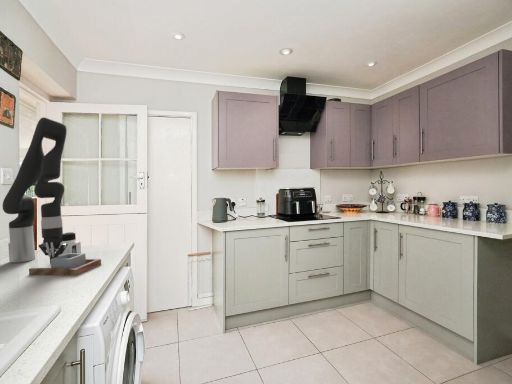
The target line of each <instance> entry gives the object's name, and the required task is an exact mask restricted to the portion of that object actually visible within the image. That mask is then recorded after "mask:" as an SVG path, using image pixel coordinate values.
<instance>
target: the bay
mask: <svg viewBox="0 0 512 384" xmlns="http://www.w3.org/2000/svg"><path fill="white" fill-rule="evenodd" d="M101 265H102V259H101V258H86V264H85V265H82V266H80V267H78V268H51V267H29V268H28V276H29V275H31V276H32V275H33V276H35V275H36V276H78V275H81V274H83V273H85V272H87V271H89V270H92V269H93V268H96V267H98V266H101Z"/></svg>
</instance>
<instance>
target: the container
mask: <svg viewBox="0 0 512 384" xmlns="http://www.w3.org/2000/svg"><path fill="white" fill-rule="evenodd" d="M76 238H77V237H76V232H72V231H71V232H70V231H69V232H63V235H62V239H63V242H64V243H65V244H66V243H67V244H68V246H67V247H66V249H65V250H64V252H63V253H62V254H60V255H58V256H61V255H64V254H67V253H82V248H81V247H82V246H81V241H76V240H77V239H76Z"/></svg>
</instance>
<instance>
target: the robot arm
mask: <svg viewBox="0 0 512 384" xmlns="http://www.w3.org/2000/svg"><path fill="white" fill-rule="evenodd" d="M67 129H68V128H67V126H66V125H65V124H64V123H62V122H59V121H57V120H54V119H51V118H48V117H44V116H43V117H40V119H39V120H38V122H37V123H36V126H35V130H34V133H33V135H32V138H31V141H30V145H29V147H28V149H27V152H26V154H25V156H24V158H23V159H22V162H21V165H20V167H19V170H18V172H17V174H16V176H15V178H14V181H13V183H12V185H11V187H10V188H9V190H8V191H7V193H6V195H5V196H4V199H3V201H2V210H3V212H4V213H6V214H7V215H17V216H16V217H15V218H14V219H13V220H11V221H9V222H8V232H9V233H8V234H9V242H8V257H9V263H10V262H11V263H14V264H15V263H17V264H19V263H25V262H29V261H33V260H35V259H36V252H35V251H36V250H35V249H36V248H35V236H34V235H35V234H34V221H35V209H36V208H35V201H34V199H33V197H32V196H31V195H28V194H26V193H27V191H28V190H29V189H30V188H31V187H32V186H34V190H33V193H34V195H35V196H36V197H37V198H40V199H50V198H52V199H53V198H54V199H53V201H51V202H47V203H43V204H41V206H40V214H41V216H40V217H41V220H40V226H41V238H42V239H43V240H42V242H41V243H40V244H38V248H39V249H40V250H41V252H42V253H43V254H44V255H45V256H48V258H49V263H50V265H51V259H52V258H55V257H58V255H60V254H62V253H63V252H64V250H65V249H66V247H67V246H68V244H67V243H66V244H65V243H64V242H63V239H62V235H63V233H64V231H63V230H64V229H63V228H64V227H63V219H62V210H61V209H62V208H61V207H62V201H63V197H64V193H65V186H64V184H63V183H62V182H60V181H53V180H57V179H59V178H60V177H61V167H62V166H61V163H62V157H63V151H64V147H65V143H66V140H67V139H66V138H67V132H68V131H67ZM43 139H47V140H51V141H55V143H54V145H53V147H52V148H51V149H50V150H49V151H48V152H47V153H46V154H45V153H44V150H43Z"/></svg>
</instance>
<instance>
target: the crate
mask: <svg viewBox="0 0 512 384" xmlns="http://www.w3.org/2000/svg"><path fill="white" fill-rule="evenodd" d="M86 257H87V256H86V253H85V252H84V253H82V252H81V253H67V254H64V255H61V256H58V257H55V258H52V259H51V264H50V268H78V267H80V266H82V265H85V264H86V259H87V258H86Z"/></svg>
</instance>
